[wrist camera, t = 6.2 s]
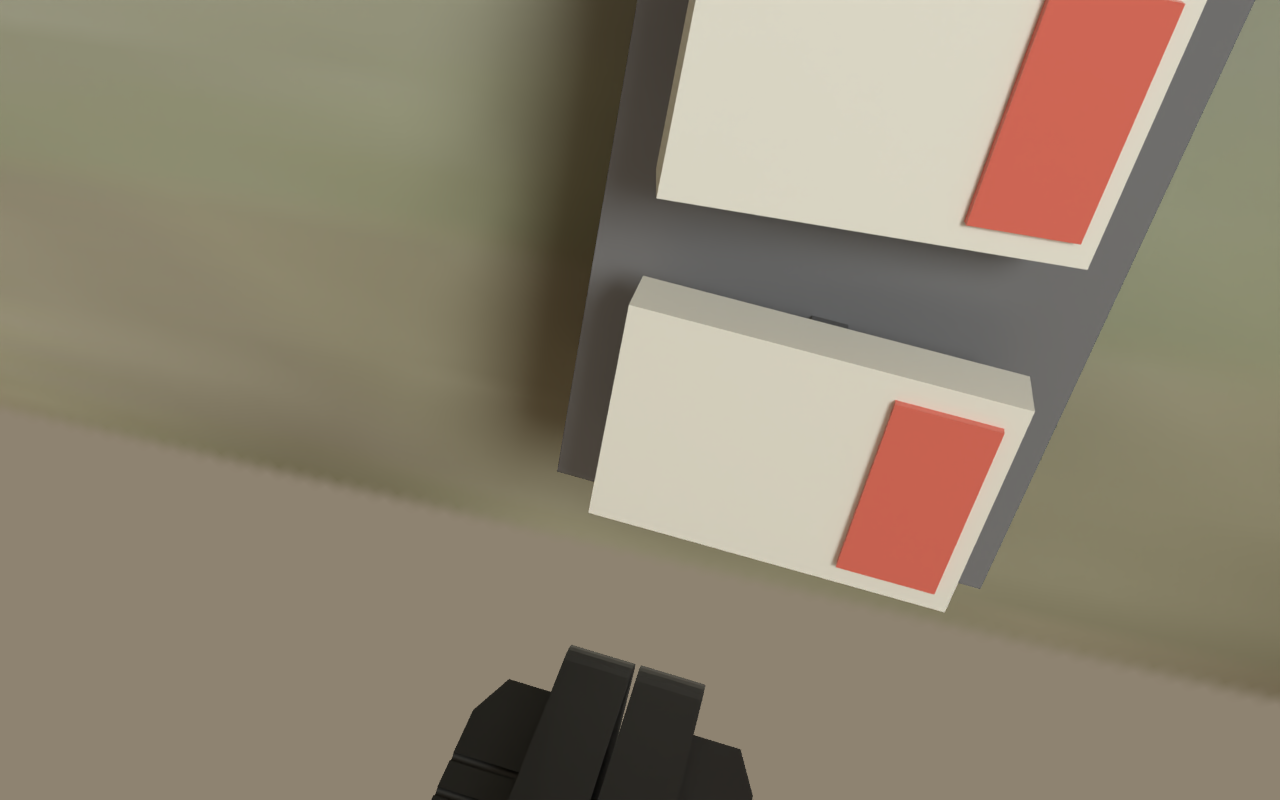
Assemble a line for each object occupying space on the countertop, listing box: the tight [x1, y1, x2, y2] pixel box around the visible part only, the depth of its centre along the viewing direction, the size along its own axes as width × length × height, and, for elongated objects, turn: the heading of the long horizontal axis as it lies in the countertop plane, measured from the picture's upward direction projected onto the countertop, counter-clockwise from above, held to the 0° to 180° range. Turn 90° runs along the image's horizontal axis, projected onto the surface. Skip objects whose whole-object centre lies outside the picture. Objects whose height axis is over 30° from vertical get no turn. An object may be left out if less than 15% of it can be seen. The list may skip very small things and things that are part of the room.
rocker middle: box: [656, 0, 1207, 270], centre depth 15 cm, size 6×4×1 cm, turn 80°
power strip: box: [557, 0, 1255, 589], centre depth 17 cm, size 8×18×5 cm, turn 169°
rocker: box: [588, 276, 1035, 612], centre depth 18 cm, size 6×4×1 cm, turn 79°
